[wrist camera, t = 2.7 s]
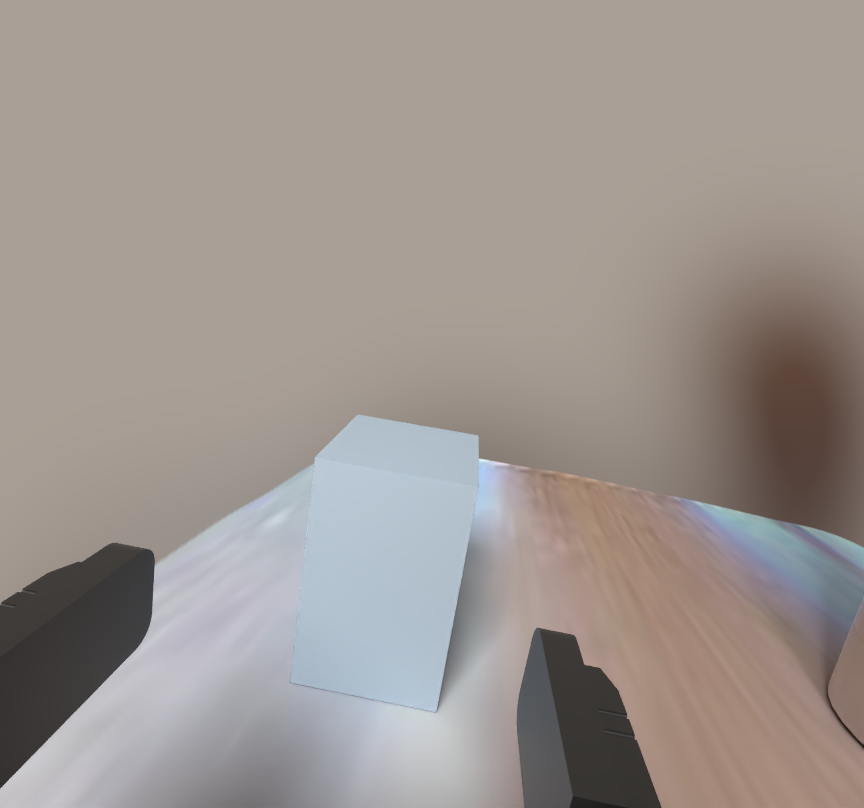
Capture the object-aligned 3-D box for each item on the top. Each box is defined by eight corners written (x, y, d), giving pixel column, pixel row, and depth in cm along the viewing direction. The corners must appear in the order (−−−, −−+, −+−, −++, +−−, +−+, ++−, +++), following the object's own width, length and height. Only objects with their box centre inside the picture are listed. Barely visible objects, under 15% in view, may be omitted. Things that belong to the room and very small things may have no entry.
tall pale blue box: (335, 588, 28) (357, 414, 26) (446, 609, 28) (478, 435, 26) (290, 682, 21) (314, 457, 19) (436, 712, 21) (479, 487, 19)
